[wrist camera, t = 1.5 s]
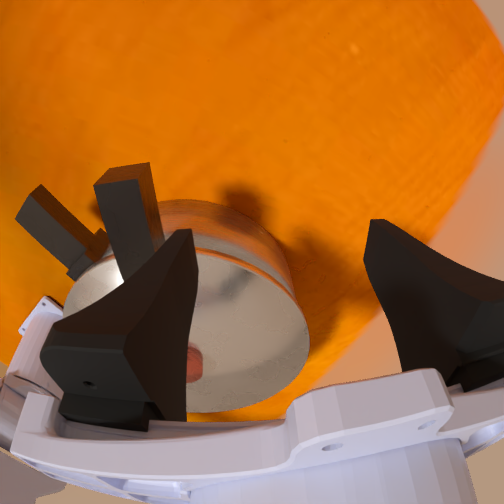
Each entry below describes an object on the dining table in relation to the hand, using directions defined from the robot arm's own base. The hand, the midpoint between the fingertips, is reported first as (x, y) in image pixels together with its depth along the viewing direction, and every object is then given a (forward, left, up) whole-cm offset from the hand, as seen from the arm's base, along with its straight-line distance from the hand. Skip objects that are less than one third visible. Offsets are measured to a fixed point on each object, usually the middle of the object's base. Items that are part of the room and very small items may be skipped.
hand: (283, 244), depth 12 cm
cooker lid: (-10, -3, -4) cm, 11 cm away
